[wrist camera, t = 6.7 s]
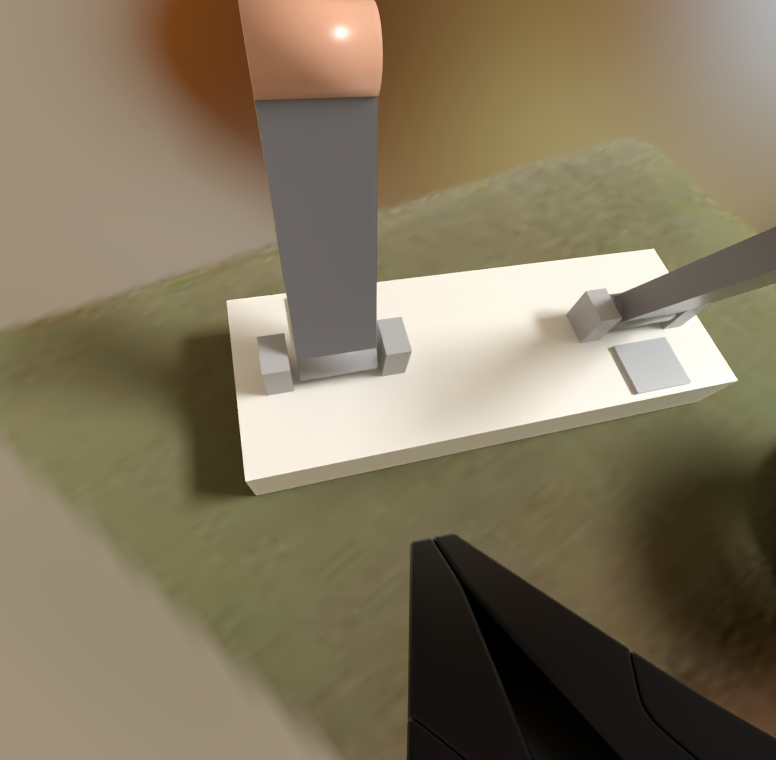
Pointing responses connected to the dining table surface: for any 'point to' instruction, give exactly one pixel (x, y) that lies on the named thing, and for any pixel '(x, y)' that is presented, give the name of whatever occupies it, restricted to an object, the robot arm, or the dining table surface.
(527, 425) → the switch unit
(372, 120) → the terracotta lever
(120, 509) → the dining table surface
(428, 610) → the robot arm
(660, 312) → the grey lever
